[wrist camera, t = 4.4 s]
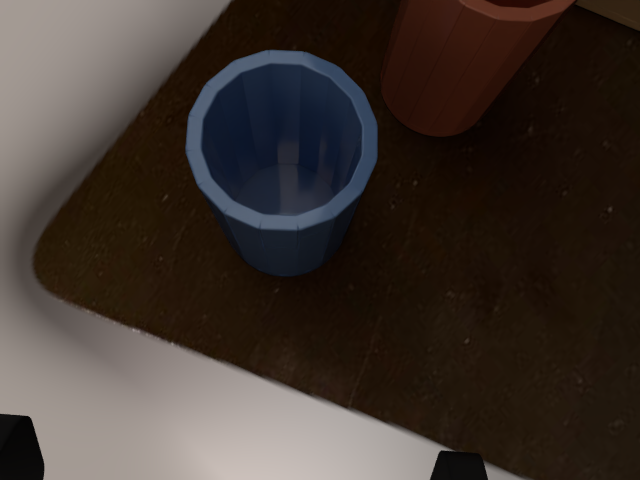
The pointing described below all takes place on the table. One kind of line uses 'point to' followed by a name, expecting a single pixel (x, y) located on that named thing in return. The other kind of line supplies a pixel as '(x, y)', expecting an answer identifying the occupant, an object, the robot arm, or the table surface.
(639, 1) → the tray
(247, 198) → the blue cup
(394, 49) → the red cup
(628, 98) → the table surface
